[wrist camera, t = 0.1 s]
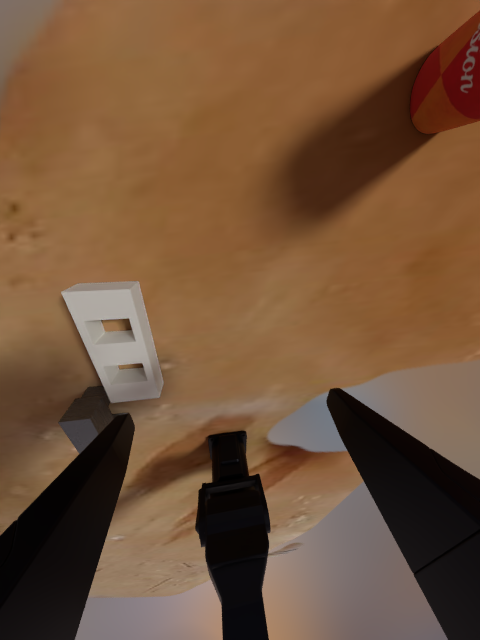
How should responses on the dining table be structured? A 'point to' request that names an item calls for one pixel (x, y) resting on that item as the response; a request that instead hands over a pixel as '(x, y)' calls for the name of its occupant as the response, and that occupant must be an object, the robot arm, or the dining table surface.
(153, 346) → the rail
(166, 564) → the dining table surface
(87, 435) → the dark grey blocky piece
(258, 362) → the dining table surface
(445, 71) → the paper cup
